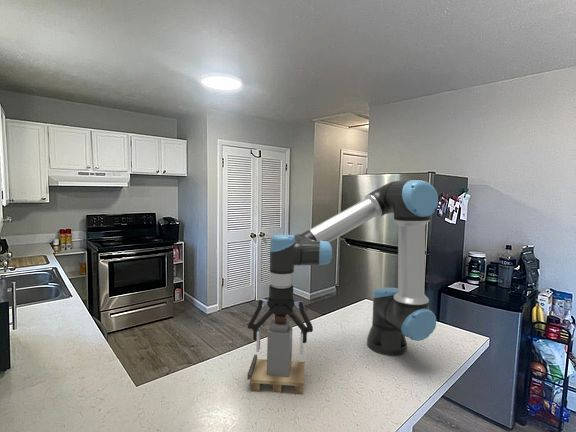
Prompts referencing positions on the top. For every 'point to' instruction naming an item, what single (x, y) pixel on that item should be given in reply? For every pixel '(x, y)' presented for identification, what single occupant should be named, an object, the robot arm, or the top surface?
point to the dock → (260, 376)
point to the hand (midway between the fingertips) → (279, 351)
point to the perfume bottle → (279, 347)
